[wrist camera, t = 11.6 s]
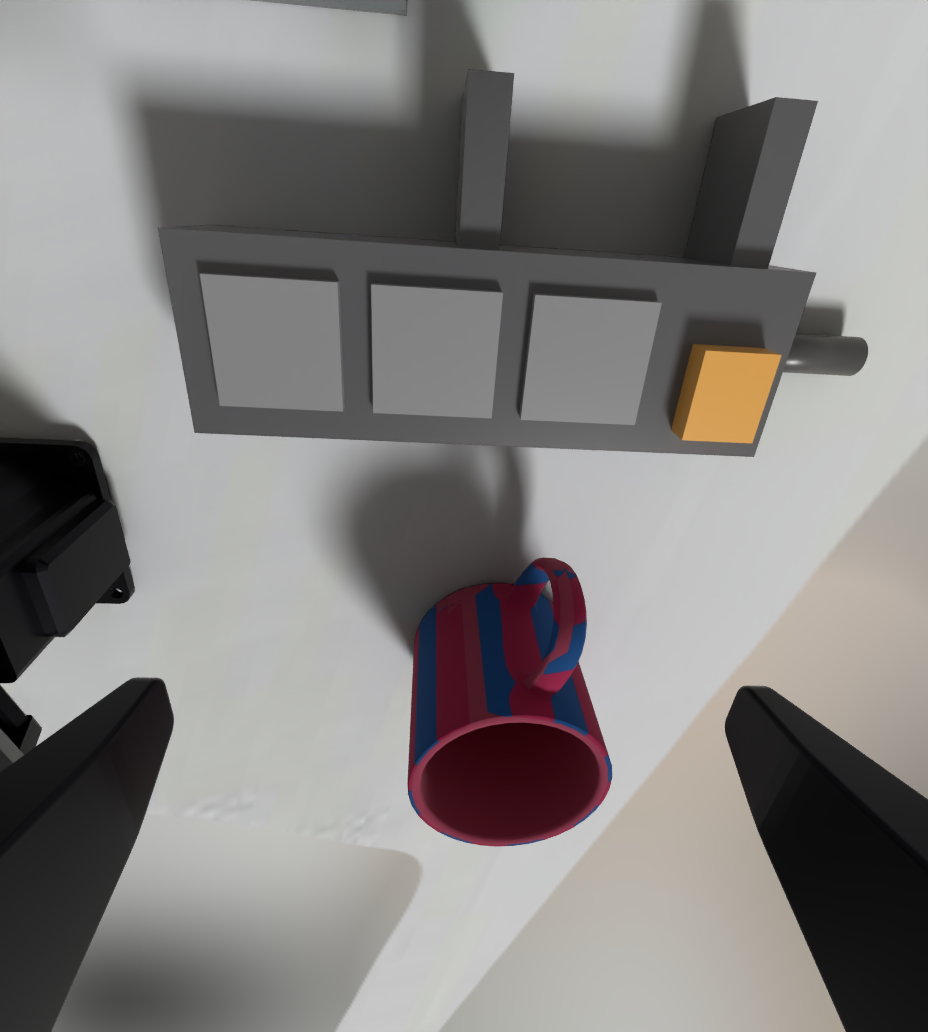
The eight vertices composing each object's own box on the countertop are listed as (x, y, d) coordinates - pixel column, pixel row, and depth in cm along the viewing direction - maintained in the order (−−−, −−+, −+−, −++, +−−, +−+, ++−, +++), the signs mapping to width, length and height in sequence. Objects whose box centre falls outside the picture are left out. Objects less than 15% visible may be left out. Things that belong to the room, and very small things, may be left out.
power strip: (235, 396, 18) (182, 443, 14) (190, 71, 14) (101, 19, 10) (812, 423, 20) (901, 473, 16) (922, 135, 16) (1076, 110, 12)
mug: (392, 678, 25) (379, 826, 19) (482, 490, 20) (503, 605, 14) (526, 713, 26) (554, 861, 20) (637, 546, 22) (713, 671, 16)
